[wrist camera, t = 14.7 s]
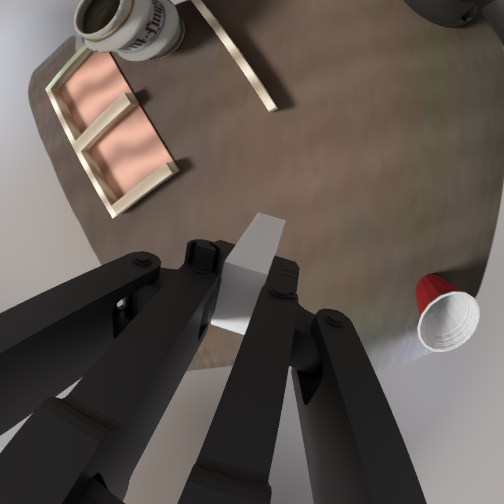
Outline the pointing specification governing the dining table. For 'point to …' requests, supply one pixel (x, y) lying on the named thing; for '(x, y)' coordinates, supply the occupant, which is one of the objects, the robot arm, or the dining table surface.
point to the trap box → (121, 123)
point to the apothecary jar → (130, 27)
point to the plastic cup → (444, 314)
